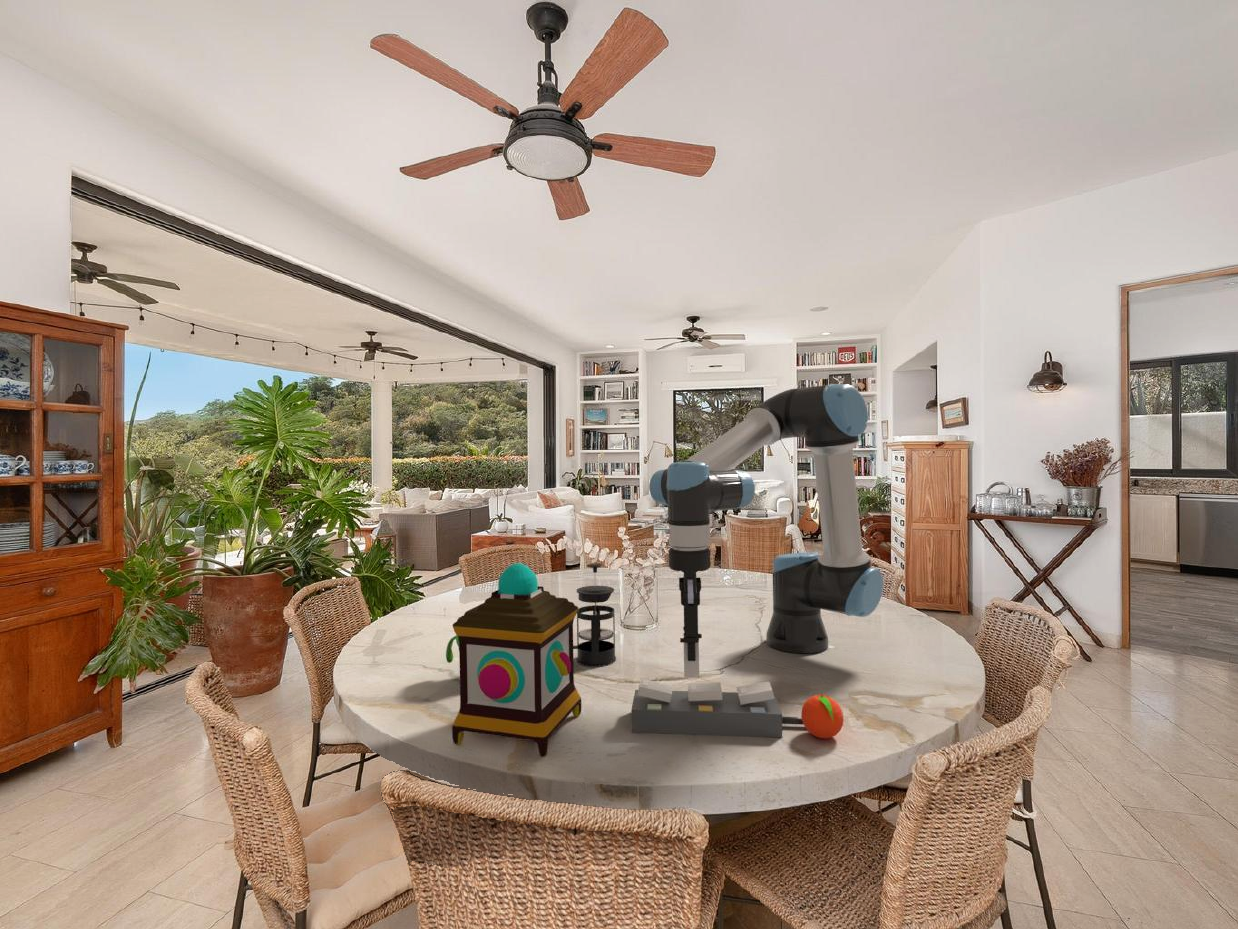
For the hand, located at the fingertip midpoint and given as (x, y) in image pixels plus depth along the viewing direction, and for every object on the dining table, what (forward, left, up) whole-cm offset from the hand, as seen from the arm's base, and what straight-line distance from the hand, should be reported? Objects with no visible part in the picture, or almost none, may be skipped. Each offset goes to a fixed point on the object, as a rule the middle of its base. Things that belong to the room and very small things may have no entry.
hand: (691, 675), depth 110 cm
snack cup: (+46, -18, -9) cm, 50 cm away
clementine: (-22, +4, -9) cm, 24 cm away
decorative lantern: (+31, +5, -9) cm, 32 cm away
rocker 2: (-2, 0, -3) cm, 4 cm away
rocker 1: (+7, 0, -3) cm, 7 cm away
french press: (+23, -32, -9) cm, 40 cm away
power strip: (-5, 0, -9) cm, 10 cm away
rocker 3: (-11, 0, -3) cm, 12 cm away
